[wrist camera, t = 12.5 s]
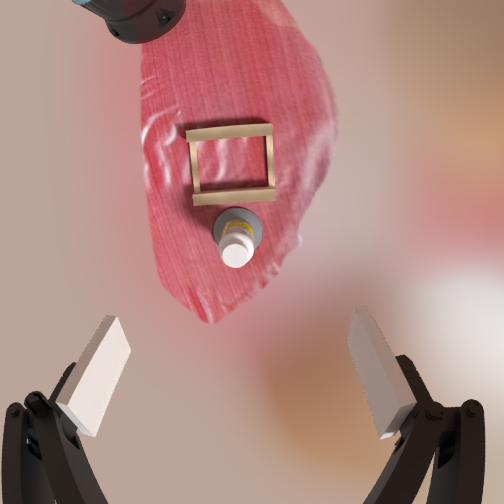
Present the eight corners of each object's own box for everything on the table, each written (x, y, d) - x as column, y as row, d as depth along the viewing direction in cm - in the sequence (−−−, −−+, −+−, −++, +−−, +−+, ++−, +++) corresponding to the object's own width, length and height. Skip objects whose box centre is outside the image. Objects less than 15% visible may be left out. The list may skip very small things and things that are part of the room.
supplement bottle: (235, 251, 52) (231, 279, 43) (216, 229, 50) (208, 252, 41) (259, 235, 50) (261, 259, 41) (241, 211, 49) (238, 231, 39)
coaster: (210, 209, 49) (210, 210, 49) (261, 206, 49) (261, 206, 48) (216, 254, 53) (215, 256, 52) (263, 252, 53) (263, 253, 52)
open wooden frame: (189, 130, 43) (185, 130, 41) (271, 123, 43) (272, 123, 41) (196, 202, 49) (193, 206, 46) (274, 197, 48) (276, 200, 46)
